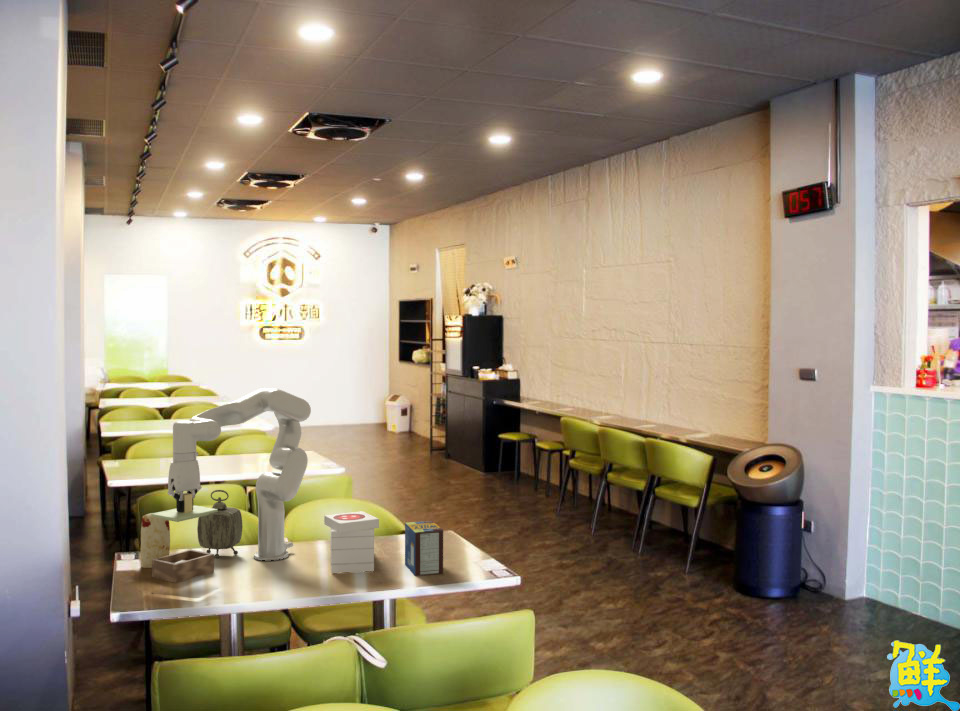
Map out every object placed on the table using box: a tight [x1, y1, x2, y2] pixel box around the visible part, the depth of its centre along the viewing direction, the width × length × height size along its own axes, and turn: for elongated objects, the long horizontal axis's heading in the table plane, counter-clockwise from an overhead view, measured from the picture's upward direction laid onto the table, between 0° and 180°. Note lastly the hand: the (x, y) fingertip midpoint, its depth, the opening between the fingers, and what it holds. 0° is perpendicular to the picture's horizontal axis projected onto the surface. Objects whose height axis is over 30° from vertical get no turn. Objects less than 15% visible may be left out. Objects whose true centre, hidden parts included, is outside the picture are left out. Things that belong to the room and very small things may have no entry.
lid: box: [151, 492, 218, 523], centre depth 281 cm, size 17×13×8 cm
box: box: [151, 549, 215, 584], centre depth 282 cm, size 16×12×7 cm
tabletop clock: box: [196, 489, 243, 559], centre depth 308 cm, size 14×9×25 cm, turn 84°
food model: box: [140, 512, 171, 569], centre depth 292 cm, size 10×7×20 cm
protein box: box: [404, 520, 444, 577], centre depth 294 cm, size 10×15×16 cm
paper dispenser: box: [323, 510, 380, 574], centre depth 301 cm, size 19×30×18 cm, turn 11°
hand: (185, 510), depth 281 cm, fingers closed on lid, 3 cm apart
